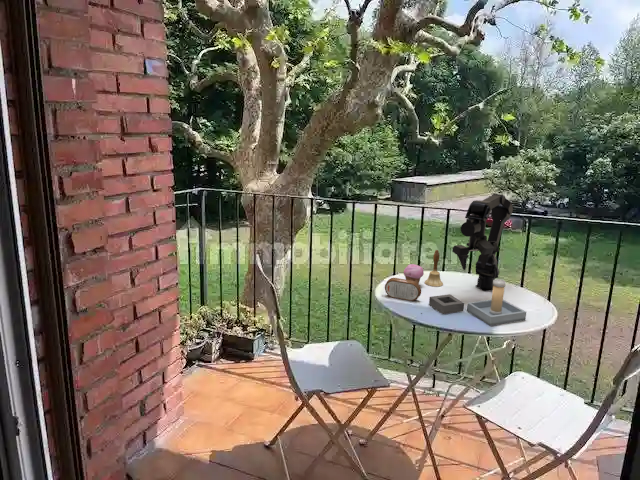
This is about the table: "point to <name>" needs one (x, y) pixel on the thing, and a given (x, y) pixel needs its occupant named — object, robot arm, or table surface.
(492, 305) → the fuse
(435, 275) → the hand bell
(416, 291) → the tin
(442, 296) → the frame
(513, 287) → the table surface
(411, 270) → the cupcake
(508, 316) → the parts tray
